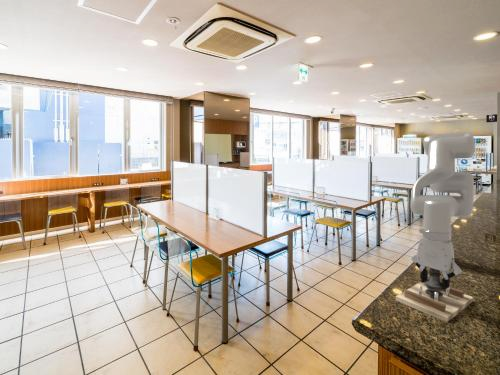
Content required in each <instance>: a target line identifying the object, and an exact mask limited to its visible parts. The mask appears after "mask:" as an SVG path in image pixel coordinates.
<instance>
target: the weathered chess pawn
mask: <svg viewBox="0 0 500 375" xmlns="http://www.w3.org/2000/svg"><path fill="white" fill-rule="evenodd" d="M428 274H429V277H428V278H429V279H428V280H425V281H424V283H425V285H426V287H427V288H428V289H426V290H425V292H426V293H427V294H428V295H431V296H434V297H435V292H438V297H442V296H443V293H442V292H440V291H442V281H441V275H442V272H441V271H439V270H435V269H432V268H429V271H428Z"/></svg>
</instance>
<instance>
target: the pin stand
mask: <svg viewBox="0 0 500 375" xmlns="http://www.w3.org/2000/svg"><path fill="white" fill-rule="evenodd" d="M427 280H429V279H427ZM426 289H428V288H427V287H426V285H425V283H422V282H421V281H419V282H418V283H416V284H415V285H413V286H412V287H411V286H410V288H408V289H406V290H404V291H402V292H400V293H399V294H397V295H396V296H395V302H399V303H401V304H403V305H406V306H409V307H410V308H413V309H416V310H417V311H420V312H421V313H424V314H427V315H430V316H431V317H434V318H436V319H439V320H441V321H443V322H446V323H448V322H450V320H452V319H453V318H454V317H456V316H457V315H458V314H460V313H461V312H462V311H463V310H465V308H466V307H468V306H469V305H470V304H472V303H473V302H474V296H471V295H468V294H465V290H461V289H458V288H454V287H452V286H449V288H447V289H446V290H442V291H440V292H442V293H443V296H442V297H438V292H435V297H434V296H431V295H428V294H427V293H426V292H425V290H426Z"/></svg>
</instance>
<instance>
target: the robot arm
mask: <svg viewBox="0 0 500 375" xmlns="http://www.w3.org/2000/svg"><path fill="white" fill-rule="evenodd" d="M422 144H423V149H424V152H425V154H426V155H427V164H426V172H424V173H423V174H421V175H420V176H419V177H418V178H417V179H416V180H415V182H414V183H413V185H412V188H411V194H410V205H409V207H410V212H412V213H413V214H415V215H419V216H423V228H420V229H419V230H418V231H419V233H420V234H422V236H420V237H419V238H420V239H419V240H418V245H417V252H416V254H415V255H414V256H412V257H411V260H412V262H413V263H414V265H415V266H416V267H417V268H418V271H419V273H420V274H419V278H420V282H422V283H424V281H425V280H427V279H428V278H429V277H428V276H429V275H428V274H429V271H428V268H429V269H430V268H432V269H435V270H439V271H440V272H441V274H442V276H443V278H442V279H441V282H442V290H446V289H447V288H449V286H450V284H451V279H452V278H453V277H455V276H457V275H460V274H462V273H463V270H462V268H460V266H458V264H457V263H456V262H455V252H454V245H453V241H452V224H451V222H452V221H451V220H452V219H451V218H452V217H455V218H469V217H470V216H471V215H472V214H473V210H474V192H475V182H474V175H473V174H472V173H470V172H468V171H455V168H454V167H455V159H456V160H457V159H459V160H460V159H470V158H472V157H473V156H474V154H475V153H476V152H475V151H476V142H475V138H474V135H473V134H472V132H453V133H440V134H438V133H437V134H430V135H428V136H425V137H424V138H423V142H422ZM428 186H429V188H430V190H431V191H432V192H435V193H446V194H433V195H432V194H421V192H422V190H424V189H425V188H426V187H428ZM449 193H450V195H448V194H449ZM451 194H459V195H451ZM452 269H453V270H454V271H451V270H452ZM428 280H429V279H428ZM450 287H451V286H450Z"/></svg>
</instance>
